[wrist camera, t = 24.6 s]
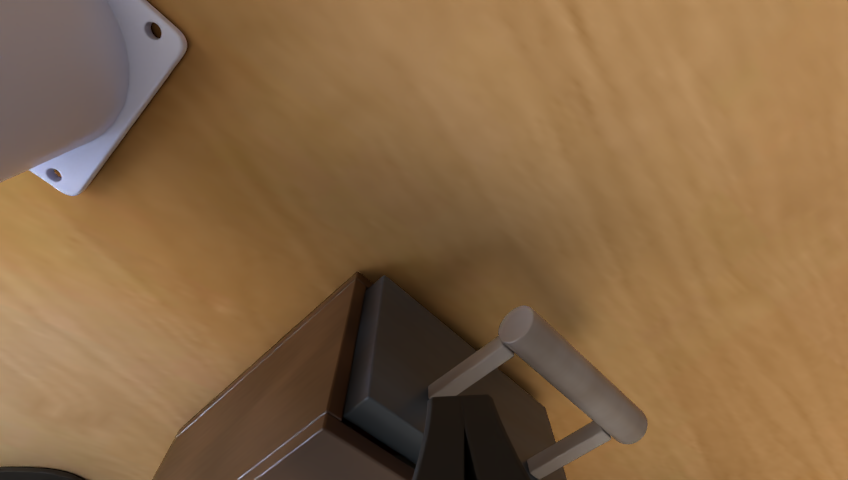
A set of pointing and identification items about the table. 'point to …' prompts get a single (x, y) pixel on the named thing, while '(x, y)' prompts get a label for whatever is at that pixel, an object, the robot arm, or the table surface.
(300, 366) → the cabinet
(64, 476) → the laptop stand
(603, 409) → the drawer
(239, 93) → the table surface
